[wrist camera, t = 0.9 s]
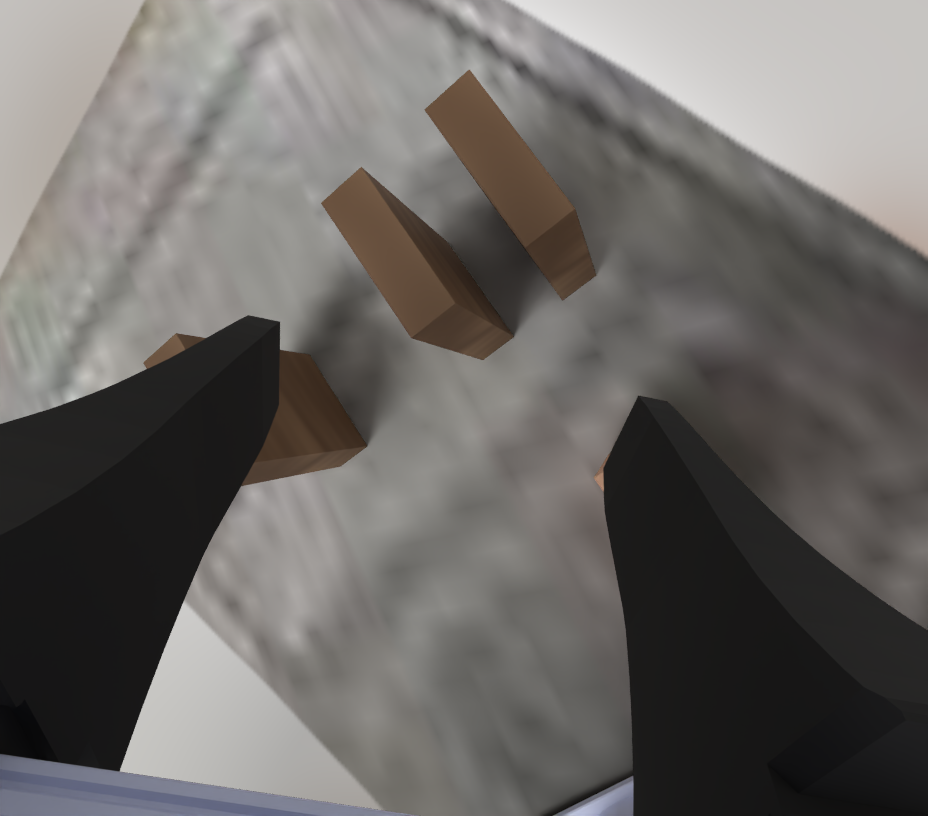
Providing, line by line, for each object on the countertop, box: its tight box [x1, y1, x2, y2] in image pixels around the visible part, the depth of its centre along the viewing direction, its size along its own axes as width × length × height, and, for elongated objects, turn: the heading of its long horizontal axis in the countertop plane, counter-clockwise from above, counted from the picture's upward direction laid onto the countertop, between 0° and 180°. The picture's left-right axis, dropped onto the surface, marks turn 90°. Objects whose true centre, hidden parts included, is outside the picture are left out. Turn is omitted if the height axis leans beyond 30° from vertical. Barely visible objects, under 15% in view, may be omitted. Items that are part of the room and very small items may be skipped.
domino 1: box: [144, 333, 367, 486], centre depth 22 cm, size 2×5×8 cm, turn 35°
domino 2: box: [321, 167, 514, 360], centre depth 21 cm, size 2×5×8 cm, turn 35°
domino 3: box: [425, 70, 596, 300], centre depth 20 cm, size 2×5×8 cm, turn 35°
